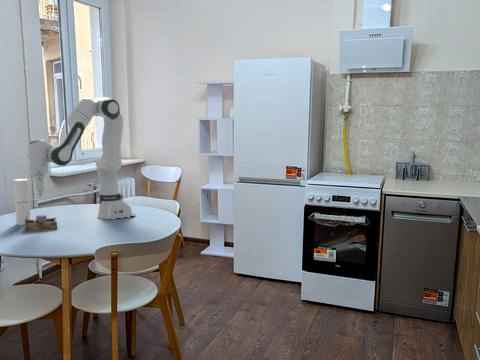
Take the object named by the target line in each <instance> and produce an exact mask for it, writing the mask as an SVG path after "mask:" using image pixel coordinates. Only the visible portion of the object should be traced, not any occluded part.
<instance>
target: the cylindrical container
mask: <svg viewBox="0 0 480 360" xmlns="http://www.w3.org/2000/svg"><path fill="white" fill-rule="evenodd" d="M13 188H14V189H13V190H14V206H15V207H14V208H15V224H16V225H17V226H25V216H28V220H31V206H30V186H29V179H28V178H16V179H13Z"/></svg>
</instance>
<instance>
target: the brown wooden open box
mask: <svg viewBox="0 0 480 360" xmlns="http://www.w3.org/2000/svg"><path fill="white" fill-rule="evenodd" d="M24 226H25V232H26V233H31V232H41V231H43V232H44V231H52V230H58V221H57V217H48V218H47V222H44V223H37V220H36V223H34V222H33V219H30V220H28V216H25V225H24Z"/></svg>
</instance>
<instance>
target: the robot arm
mask: <svg viewBox="0 0 480 360" xmlns="http://www.w3.org/2000/svg"><path fill="white" fill-rule="evenodd" d="M120 109H121V108H120V104H119V102H118V101H117V100H116V99H114V98H111V97H95V98H89V97H83V98H81V100H79V102H77V104H76V105H74V107H73V108H72V109H71V111H70V113H69V114H68V116H67V119H66V123H67V125H68V127H69V131H68V134H67V135H66V137H65V139H64V140H63V142H62V143H61V144H60V145H55V144H52V143H50V142H48V141H46V140H45V139H35V140H32V141H30V142H29V143H28V147H27V148H28V149H27V151H28V153H27V156H28V160H29V164H28V165H29V166H28V167H29V168H28V169H29V175H32V178H34V182H35V190H36V191H37V192H38V198H39V199H41V198H43V191H44V190H45V184H44V183H45V181H44V178H45V177H46V176H47V174H49V167H48V165H49V163H52V164H55V165H57V166H63V167H64V166H66V165H68V164H69V163H71V162H72V159H73V153H74V151H75V149H76V147H77V145H78V143H79V141H80V140H81V138H82V137H83V133H84V132H85V130H86V128H87V127H88V126H89V124H90V122H91V121H92V120H93V117H101V118H103V121H104V125H103V129H102V135H101V136H102V137H101V146H102V148H101V149H102V152H101V153H99V154H98V155H97V156H95V160H94V161H95V165H96V173H97V177H98V186H99V187H98V189H99V194H98V204H99V206H98V213H97V218H98V219H104V220H110V219H113V220H117V219H116V218H121V219H125V218H124V217H128V218H130V217H129V216H134V215H133V214H135V215H136V212H134V211H133V210H132V207H131V205H130V204H129V203H128V202H127V201H125V200H124V197H125V196H124V195H123V194H121V193H120V192H119V179H118V176H117V172H118V171H119V170H121V168H122V166H123V164H122V163H123V162H122V153H121V152H122V151H121V149H122V148H121V147H122V145H121V144H122V140H123V139H122V136H123V133H124V131H123V129H124V116H123V115H122V114H121V111H120ZM134 217H135V216H134Z"/></svg>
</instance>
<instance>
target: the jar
mask: <svg viewBox="0 0 480 360" xmlns="http://www.w3.org/2000/svg"><path fill="white" fill-rule="evenodd" d="M35 217H36V220H37V223H44V222H47V217H48V216H47V214H44V213H43V214H37V215H35Z"/></svg>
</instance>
